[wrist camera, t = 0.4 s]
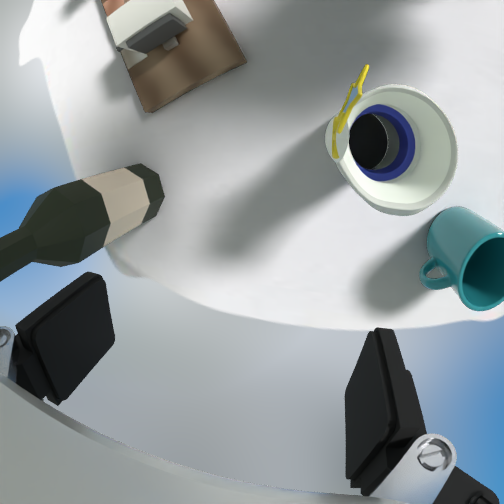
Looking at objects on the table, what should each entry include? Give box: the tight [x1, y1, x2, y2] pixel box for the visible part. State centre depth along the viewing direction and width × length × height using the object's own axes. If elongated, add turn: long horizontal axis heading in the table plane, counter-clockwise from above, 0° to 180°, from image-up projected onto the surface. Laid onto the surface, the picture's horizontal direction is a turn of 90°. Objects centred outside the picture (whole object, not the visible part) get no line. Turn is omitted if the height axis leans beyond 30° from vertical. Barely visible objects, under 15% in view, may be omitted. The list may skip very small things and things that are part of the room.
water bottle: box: [325, 64, 458, 216], centre depth 21 cm, size 8×9×25 cm
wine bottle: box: [0, 164, 165, 281], centre depth 26 cm, size 8×8×30 cm
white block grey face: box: [106, 0, 193, 54], centre depth 25 cm, size 10×12×5 cm
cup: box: [419, 206, 504, 311], centre depth 29 cm, size 9×12×11 cm
